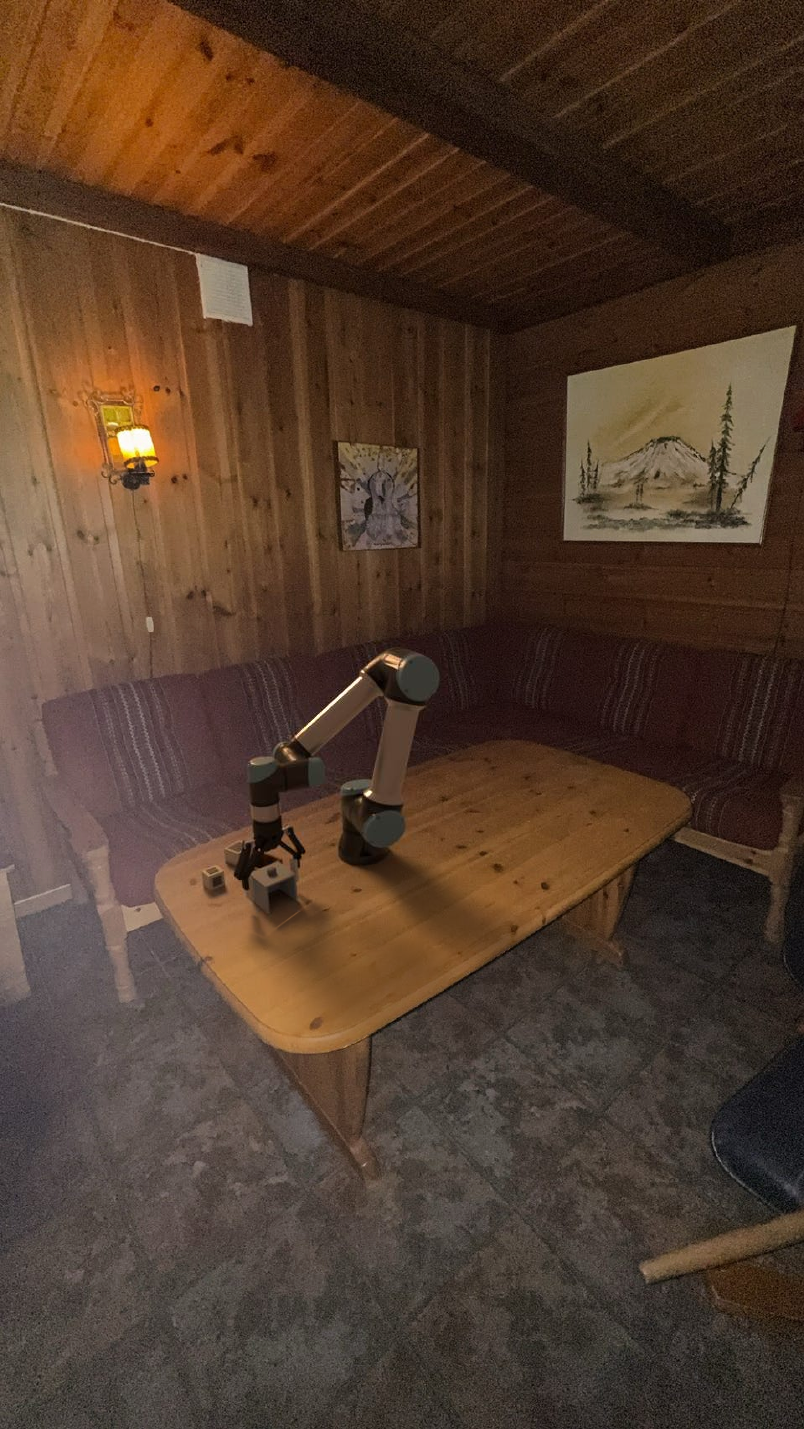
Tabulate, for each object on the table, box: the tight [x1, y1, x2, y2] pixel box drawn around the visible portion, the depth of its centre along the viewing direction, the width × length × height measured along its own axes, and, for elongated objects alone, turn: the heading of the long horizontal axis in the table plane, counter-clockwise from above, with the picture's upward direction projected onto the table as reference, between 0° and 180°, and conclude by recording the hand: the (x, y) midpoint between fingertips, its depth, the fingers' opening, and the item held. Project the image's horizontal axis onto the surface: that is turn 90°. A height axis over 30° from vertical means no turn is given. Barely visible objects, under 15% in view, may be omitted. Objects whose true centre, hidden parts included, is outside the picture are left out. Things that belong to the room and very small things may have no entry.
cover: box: [250, 862, 299, 915], centre depth 166 cm, size 9×9×9 cm
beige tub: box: [223, 840, 253, 867], centre depth 187 cm, size 6×6×4 cm
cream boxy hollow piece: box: [200, 864, 226, 892], centre depth 174 cm, size 5×4×5 cm
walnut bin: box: [253, 852, 284, 871], centre depth 178 cm, size 8×8×5 cm
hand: (273, 889), depth 166 cm, fingers open, 13 cm apart
